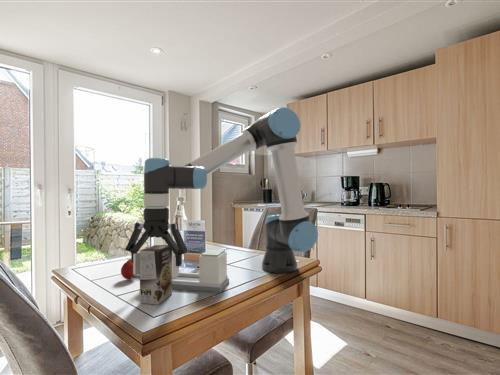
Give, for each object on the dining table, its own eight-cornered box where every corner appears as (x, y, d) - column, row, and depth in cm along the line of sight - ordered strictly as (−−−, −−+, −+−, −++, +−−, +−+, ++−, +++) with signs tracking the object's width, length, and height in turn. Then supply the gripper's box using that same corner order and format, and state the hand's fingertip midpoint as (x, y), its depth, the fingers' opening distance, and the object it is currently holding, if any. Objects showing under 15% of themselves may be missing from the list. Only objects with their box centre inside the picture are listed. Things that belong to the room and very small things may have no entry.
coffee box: (158, 305, 83) (158, 250, 83) (139, 303, 84) (138, 250, 84) (173, 293, 92) (172, 244, 92) (155, 292, 93) (155, 244, 93)
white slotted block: (229, 282, 103) (229, 249, 103) (220, 292, 93) (220, 255, 93) (160, 277, 109) (160, 246, 109) (145, 286, 99) (145, 252, 99)
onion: (127, 283, 102) (127, 261, 102) (117, 280, 105) (117, 259, 105) (140, 279, 107) (140, 258, 107) (131, 276, 110) (131, 256, 110)
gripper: (198, 207, 89) (197, 274, 89) (129, 206, 94) (128, 268, 94) (188, 209, 82) (187, 281, 82) (113, 207, 87) (113, 275, 87)
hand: (156, 275), depth 88 cm, fingers open, 13 cm apart
